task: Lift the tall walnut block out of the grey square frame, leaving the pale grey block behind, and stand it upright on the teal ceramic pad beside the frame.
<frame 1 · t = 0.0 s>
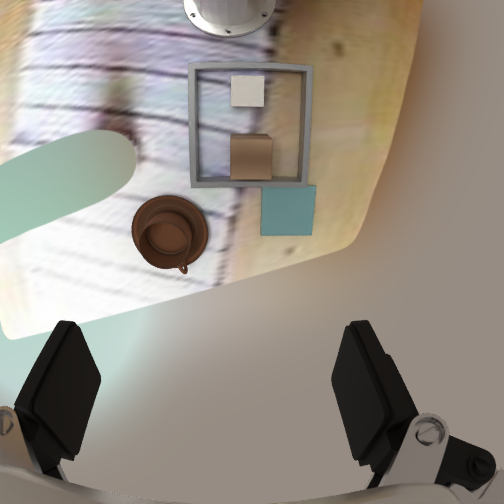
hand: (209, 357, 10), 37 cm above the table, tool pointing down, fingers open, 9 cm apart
pale grey block: (246, 92, 38), resting in grey square frame
walnut block: (248, 150, 42), resting in grey square frame
cup and saucer: (171, 228, 48), on the table
pad: (287, 209, 47), on the table
grey square frame: (249, 123, 40), on the table
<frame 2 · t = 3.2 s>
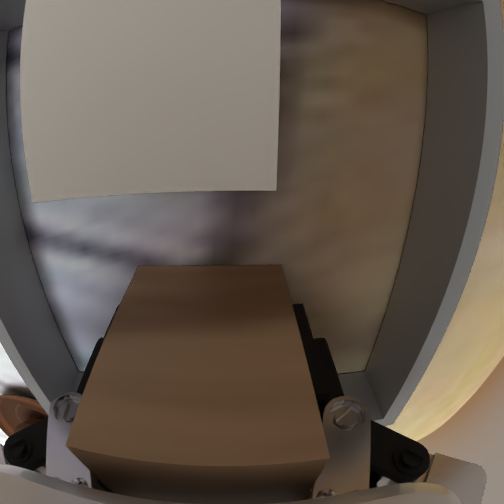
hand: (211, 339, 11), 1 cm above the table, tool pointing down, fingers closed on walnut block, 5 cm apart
pale grey block: (185, 79, 8), resting in grey square frame
walnut block: (212, 321, 12), resting in grey square frame, touching gripper
cup and saucer: (66, 428, 17), on the table
grey square frame: (205, 223, 10), on the table
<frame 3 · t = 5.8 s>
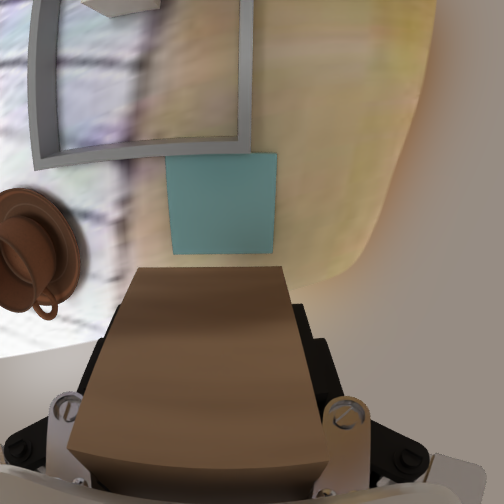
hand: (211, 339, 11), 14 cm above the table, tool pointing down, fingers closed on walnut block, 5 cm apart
walnut block: (212, 323, 12), point 13 cm above the table, touching gripper
cup and saucer: (36, 241, 24), on the table
pad: (221, 203, 23), on the table
grey square frame: (138, 40, 17), on the table
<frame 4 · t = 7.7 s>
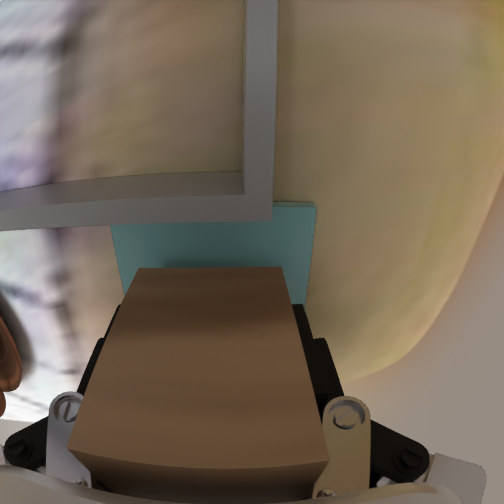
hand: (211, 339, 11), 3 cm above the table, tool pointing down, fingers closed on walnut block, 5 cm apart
walnut block: (212, 323, 12), point 2 cm above the table, touching gripper
pad: (214, 289, 14), on the table
grey square frame: (64, 5, 7), on the table
when the fingers open (3 cm above the table, at t = 8.5 s): walnut block drops 1 cm, resting on pad.
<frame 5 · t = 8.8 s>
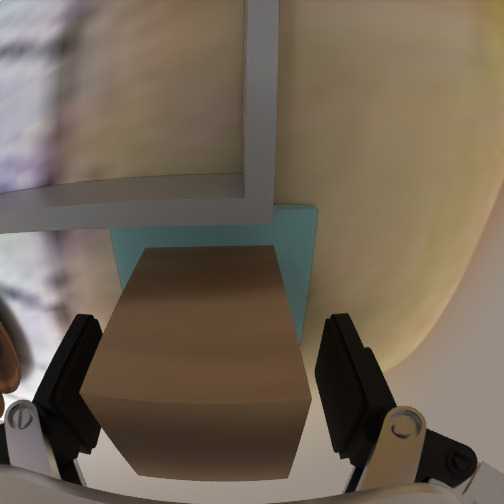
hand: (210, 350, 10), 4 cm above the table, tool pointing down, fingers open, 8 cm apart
walnut block: (211, 299, 13), point 1 cm above the table, touching pad
pad: (214, 292, 13), on the table
grey square frame: (63, 5, 7), on the table
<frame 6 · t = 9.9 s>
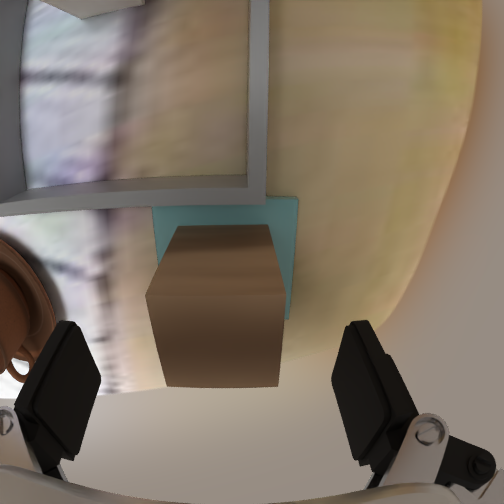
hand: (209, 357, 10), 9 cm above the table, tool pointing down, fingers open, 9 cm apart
walnut block: (223, 265, 18), point 1 cm above the table, touching pad
cup and saucer: (9, 290, 19), on the table
pad: (225, 261, 19), on the table
grey square frame: (116, 47, 13), on the table
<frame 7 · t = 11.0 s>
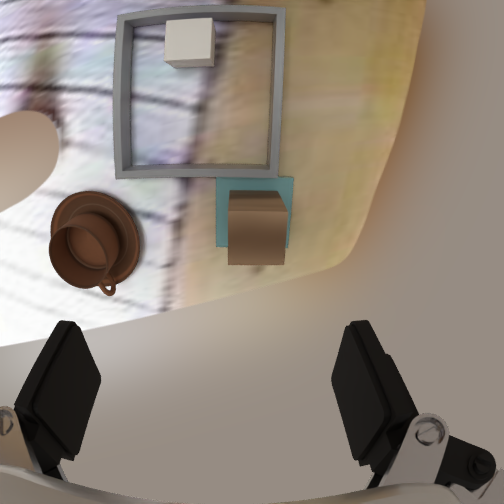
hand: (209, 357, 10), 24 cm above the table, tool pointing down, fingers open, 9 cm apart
pale grey block: (195, 49, 26), resting in grey square frame
walnut block: (252, 212, 33), point 1 cm above the table, touching pad
cup and saucer: (98, 234, 34), on the table
pad: (253, 211, 33), on the table
grey square frame: (198, 89, 27), on the table
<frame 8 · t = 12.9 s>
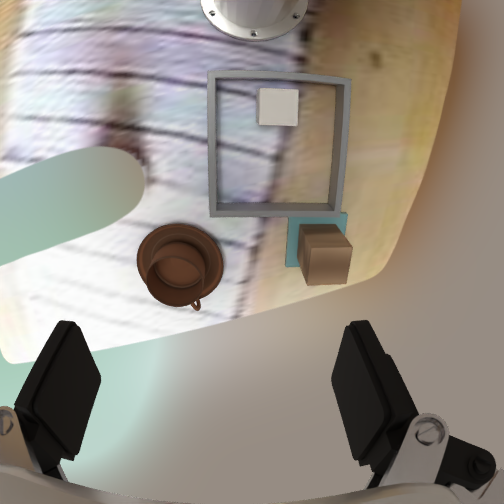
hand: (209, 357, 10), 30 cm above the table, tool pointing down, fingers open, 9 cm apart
pale grey block: (273, 106, 34), resting in grey square frame
walnut block: (315, 240, 42), point 1 cm above the table, touching pad
cup and saucer: (181, 258, 43), on the table
pad: (315, 239, 42), on the table
grey square frame: (276, 142, 36), on the table
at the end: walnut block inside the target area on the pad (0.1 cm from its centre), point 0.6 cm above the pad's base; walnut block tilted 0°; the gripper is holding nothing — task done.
